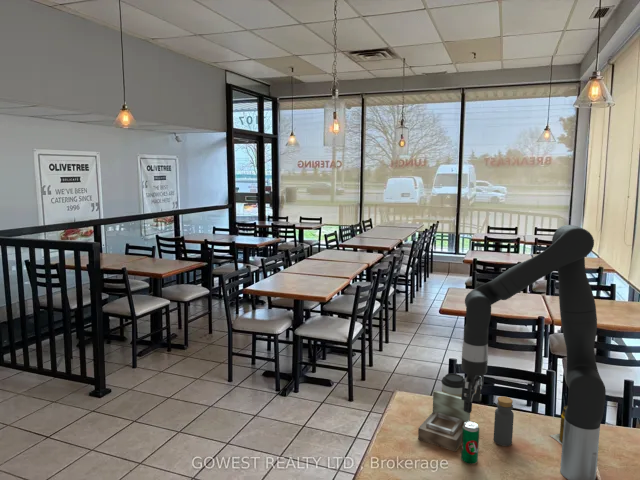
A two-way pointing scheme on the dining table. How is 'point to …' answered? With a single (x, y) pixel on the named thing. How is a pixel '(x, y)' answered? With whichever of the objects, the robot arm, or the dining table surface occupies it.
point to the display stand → (444, 422)
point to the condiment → (560, 436)
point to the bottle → (503, 421)
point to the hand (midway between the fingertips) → (471, 406)
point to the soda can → (470, 442)
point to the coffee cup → (452, 384)
